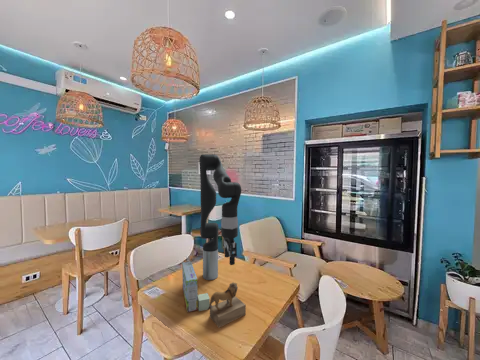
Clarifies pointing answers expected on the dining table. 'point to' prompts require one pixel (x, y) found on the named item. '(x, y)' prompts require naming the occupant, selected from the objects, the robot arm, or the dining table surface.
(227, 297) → the lion figurine
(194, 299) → the snack box
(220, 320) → the taupe rectangular block
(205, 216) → the robot arm
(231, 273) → the dining table surface
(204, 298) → the sage cube
